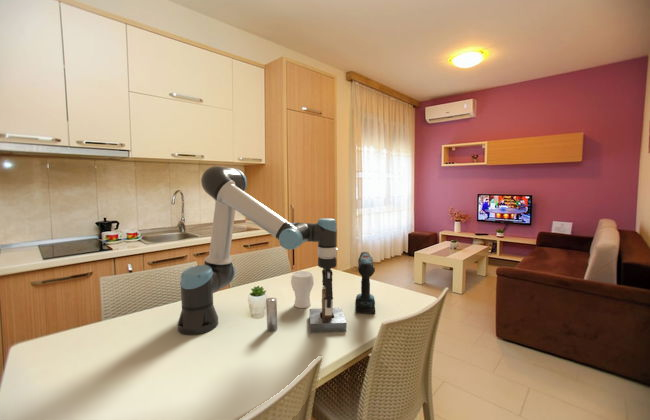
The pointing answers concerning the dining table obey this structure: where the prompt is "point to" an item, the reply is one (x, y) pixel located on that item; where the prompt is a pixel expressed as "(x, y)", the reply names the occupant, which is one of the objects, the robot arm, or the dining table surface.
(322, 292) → the square bit
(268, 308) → the round bit
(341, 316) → the socket block
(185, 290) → the robot arm
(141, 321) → the dining table surface
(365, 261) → the power drill
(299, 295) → the cup
